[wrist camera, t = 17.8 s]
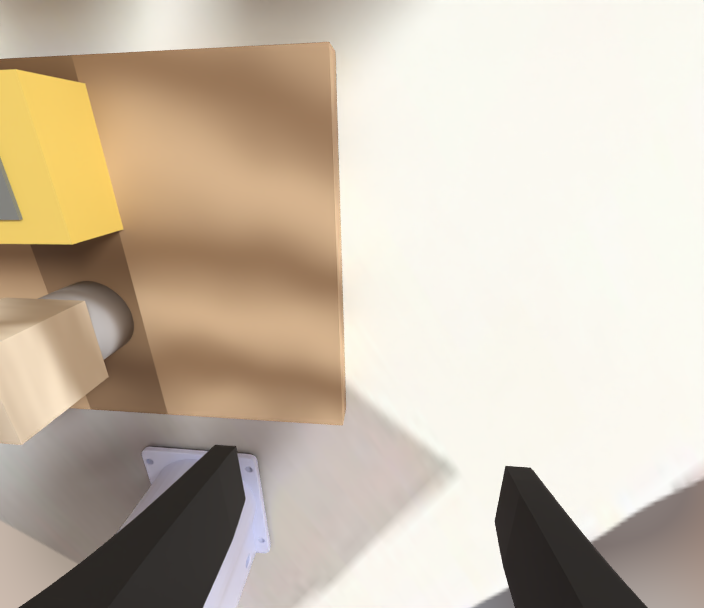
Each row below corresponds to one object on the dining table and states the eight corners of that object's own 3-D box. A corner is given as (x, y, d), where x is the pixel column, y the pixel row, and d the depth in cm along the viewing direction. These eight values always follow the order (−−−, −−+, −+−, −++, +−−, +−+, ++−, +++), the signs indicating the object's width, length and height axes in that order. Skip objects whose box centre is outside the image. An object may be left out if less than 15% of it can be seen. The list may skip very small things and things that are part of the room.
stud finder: (123, 229, 17) (69, 245, 15) (29, 228, 18) (-41, 244, 15) (85, 83, 15) (11, 68, 12) (-22, 88, 16) (-117, 74, 13)
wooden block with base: (123, 282, 19) (-21, 351, 12) (141, 350, 20) (21, 445, 14) (51, 279, 19) (-125, 345, 13) (75, 347, 20) (-71, 436, 14)
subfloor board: (346, 408, 22) (342, 425, 21) (45, 390, 24) (24, 405, 23) (335, 51, 15) (329, 42, 14) (-88, 72, 17) (-130, 65, 16)
